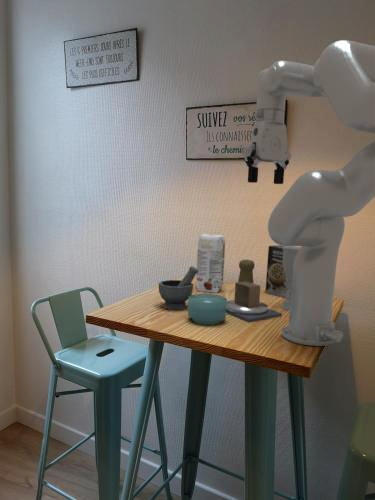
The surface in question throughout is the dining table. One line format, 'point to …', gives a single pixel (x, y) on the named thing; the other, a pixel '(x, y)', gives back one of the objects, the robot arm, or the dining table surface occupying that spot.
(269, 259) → the coffee box
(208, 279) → the juice carton
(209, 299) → the bowl
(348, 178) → the robot arm
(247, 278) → the olive pawn
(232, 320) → the dining table surface
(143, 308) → the dining table surface
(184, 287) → the mortar and pestle
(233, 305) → the lid
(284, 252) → the chalice
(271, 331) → the dining table surface
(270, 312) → the mat
